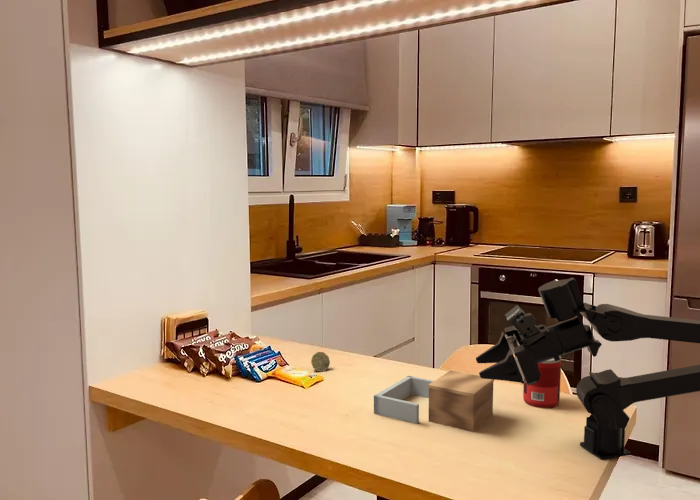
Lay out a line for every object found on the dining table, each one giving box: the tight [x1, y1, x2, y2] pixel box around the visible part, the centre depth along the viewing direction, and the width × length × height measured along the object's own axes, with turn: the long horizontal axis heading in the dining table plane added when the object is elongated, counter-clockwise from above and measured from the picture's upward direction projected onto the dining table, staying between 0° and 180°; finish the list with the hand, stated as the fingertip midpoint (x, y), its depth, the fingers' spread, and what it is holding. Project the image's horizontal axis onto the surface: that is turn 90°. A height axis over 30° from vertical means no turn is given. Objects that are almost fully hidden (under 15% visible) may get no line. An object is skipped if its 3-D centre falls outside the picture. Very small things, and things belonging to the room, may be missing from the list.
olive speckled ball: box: [310, 351, 331, 372], centre depth 163 cm, size 4×5×5 cm
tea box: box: [428, 370, 495, 433], centre depth 129 cm, size 10×11×8 cm
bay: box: [373, 375, 434, 424], centre depth 136 cm, size 10×16×4 cm, turn 146°
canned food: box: [522, 356, 562, 409], centre depth 138 cm, size 8×8×11 cm
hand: (478, 367), depth 115 cm, fingers open, 9 cm apart
